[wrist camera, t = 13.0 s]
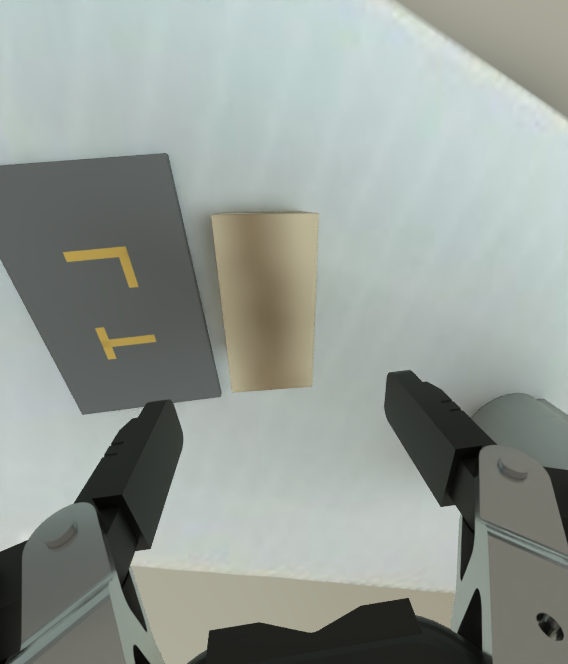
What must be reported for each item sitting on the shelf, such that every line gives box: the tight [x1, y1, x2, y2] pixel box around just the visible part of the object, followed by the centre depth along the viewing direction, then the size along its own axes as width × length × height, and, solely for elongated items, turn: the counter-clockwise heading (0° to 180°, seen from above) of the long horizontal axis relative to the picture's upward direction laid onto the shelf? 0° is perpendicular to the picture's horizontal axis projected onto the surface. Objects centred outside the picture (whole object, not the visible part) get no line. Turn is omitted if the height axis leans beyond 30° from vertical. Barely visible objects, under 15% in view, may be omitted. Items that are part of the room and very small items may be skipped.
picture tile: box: [0, 153, 221, 415], centre depth 22 cm, size 13×20×1 cm, turn 5°
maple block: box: [211, 211, 319, 392], centre depth 20 cm, size 6×12×6 cm, turn 1°
